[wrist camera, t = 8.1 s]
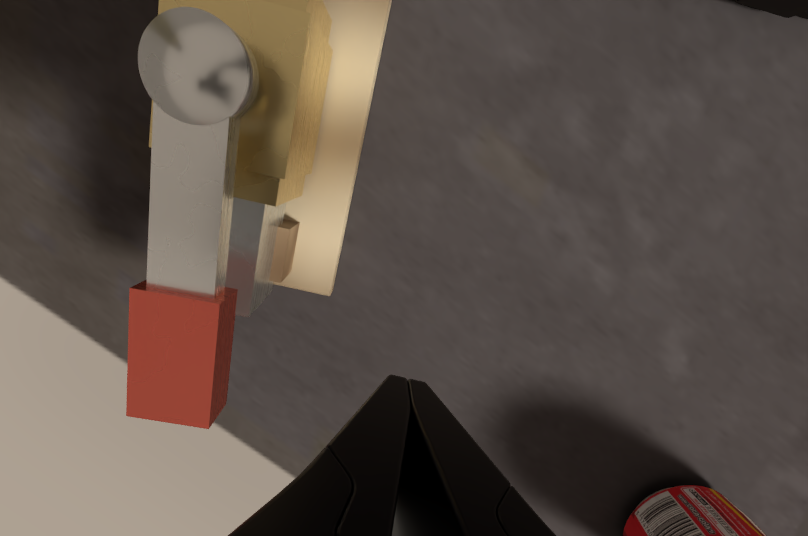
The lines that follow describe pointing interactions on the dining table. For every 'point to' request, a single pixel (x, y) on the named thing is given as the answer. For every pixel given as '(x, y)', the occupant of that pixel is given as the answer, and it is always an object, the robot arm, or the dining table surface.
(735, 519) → the soda can
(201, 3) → the valve and pipe
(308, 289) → the birch rig board
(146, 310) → the ball valve lever
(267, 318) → the dining table surface
